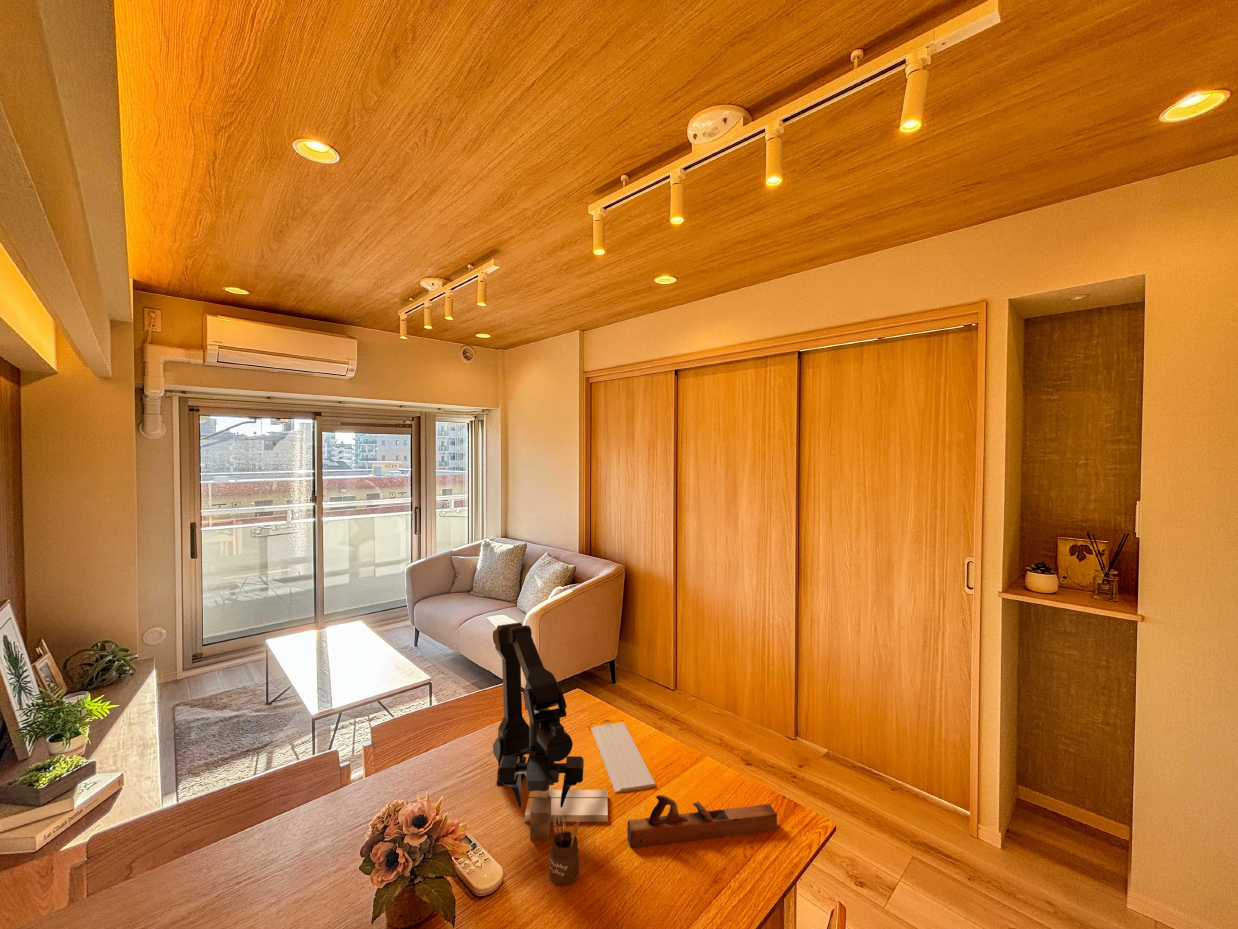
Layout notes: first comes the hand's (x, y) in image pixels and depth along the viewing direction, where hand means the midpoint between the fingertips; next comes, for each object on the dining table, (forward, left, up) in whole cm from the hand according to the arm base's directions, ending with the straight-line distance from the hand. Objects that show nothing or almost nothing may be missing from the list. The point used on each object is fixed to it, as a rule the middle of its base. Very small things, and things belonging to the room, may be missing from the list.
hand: (540, 806), depth 117 cm
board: (+6, +7, -6) cm, 11 cm away
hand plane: (+37, -1, -6) cm, 37 cm away
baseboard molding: (+18, +29, -6) cm, 35 cm away
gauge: (0, +4, -6) cm, 7 cm away
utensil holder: (+6, -12, -6) cm, 15 cm away
